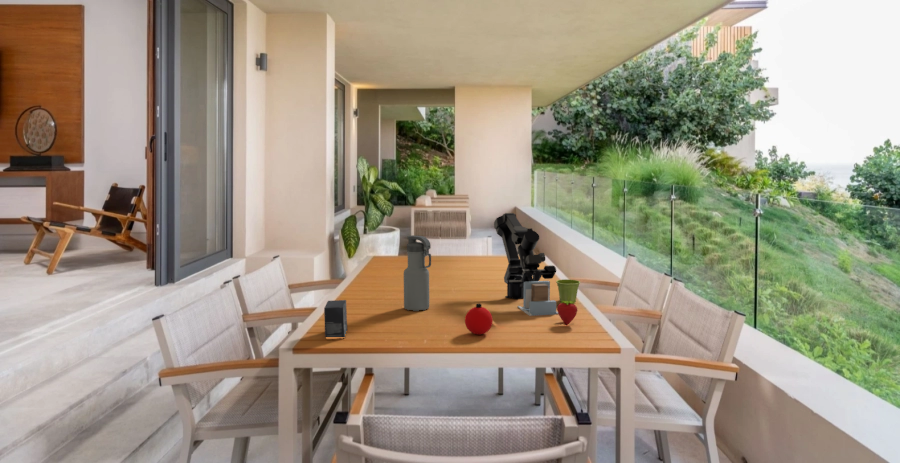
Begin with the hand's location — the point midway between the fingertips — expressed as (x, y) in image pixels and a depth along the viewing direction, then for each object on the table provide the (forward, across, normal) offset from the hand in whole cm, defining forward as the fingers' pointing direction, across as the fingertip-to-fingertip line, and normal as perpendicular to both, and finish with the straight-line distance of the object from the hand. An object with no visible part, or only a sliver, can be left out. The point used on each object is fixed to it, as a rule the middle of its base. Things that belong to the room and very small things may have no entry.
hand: (535, 292), depth 230 cm
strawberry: (+20, +4, -11) cm, 23 cm away
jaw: (+5, 0, +3) cm, 6 cm away
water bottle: (-4, -43, +15) cm, 46 cm away
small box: (+17, -74, -8) cm, 76 cm away
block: (+8, 0, +1) cm, 8 cm away
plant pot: (-1, +17, +13) cm, 22 cm away
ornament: (+23, -29, -15) cm, 40 cm away
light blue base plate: (+7, 0, +3) cm, 8 cm away
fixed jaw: (+11, 0, -1) cm, 11 cm away
